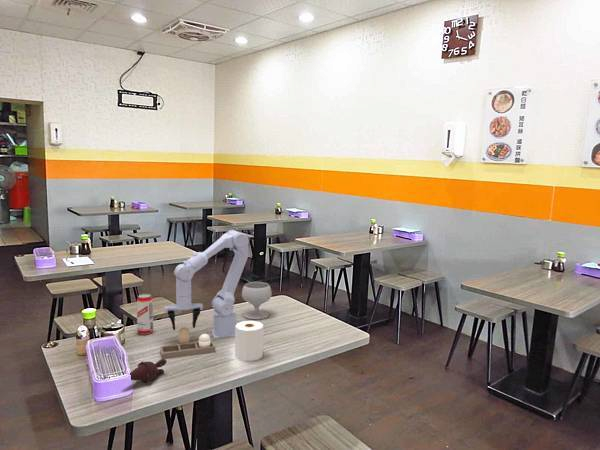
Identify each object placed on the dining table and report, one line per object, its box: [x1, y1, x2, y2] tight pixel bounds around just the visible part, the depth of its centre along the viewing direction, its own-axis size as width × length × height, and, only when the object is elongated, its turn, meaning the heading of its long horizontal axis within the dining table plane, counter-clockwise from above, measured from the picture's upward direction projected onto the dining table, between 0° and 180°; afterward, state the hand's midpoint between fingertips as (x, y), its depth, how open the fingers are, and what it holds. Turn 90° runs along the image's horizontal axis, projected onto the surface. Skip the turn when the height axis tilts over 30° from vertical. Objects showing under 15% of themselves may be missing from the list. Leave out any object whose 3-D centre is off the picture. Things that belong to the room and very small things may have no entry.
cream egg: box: [198, 333, 211, 348], centre depth 167 cm, size 4×4×6 cm
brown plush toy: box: [129, 359, 168, 385], centre depth 142 cm, size 7×7×15 cm
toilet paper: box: [234, 320, 264, 362], centre depth 163 cm, size 10×10×12 cm
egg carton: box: [159, 339, 216, 360], centre depth 165 cm, size 20×7×2 cm, turn 112°
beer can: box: [136, 293, 154, 336], centre depth 183 cm, size 6×6×16 cm
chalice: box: [241, 281, 273, 320], centre depth 207 cm, size 14×14×15 cm
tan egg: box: [177, 326, 191, 344], centre depth 175 cm, size 4×4×6 cm
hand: (183, 327), depth 174 cm, fingers open, 7 cm apart
